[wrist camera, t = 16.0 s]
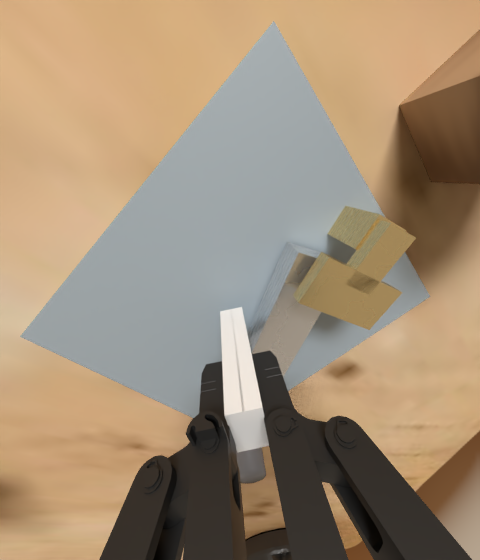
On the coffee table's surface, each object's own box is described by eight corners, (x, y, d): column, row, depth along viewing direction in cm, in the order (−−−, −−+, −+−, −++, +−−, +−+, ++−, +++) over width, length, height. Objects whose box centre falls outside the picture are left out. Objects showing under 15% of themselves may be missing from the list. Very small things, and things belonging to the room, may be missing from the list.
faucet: (256, 406, 19) (260, 430, 18) (209, 401, 18) (208, 425, 17) (339, 257, 13) (358, 270, 12) (276, 237, 12) (286, 248, 11)
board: (421, 291, 17) (543, 361, 10) (224, 424, 22) (227, 523, 16) (269, 33, 9) (378, -257, 3) (29, 328, 15) (-109, 443, 8)
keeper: (376, 226, 14) (442, 247, 10) (330, 290, 16) (369, 330, 12) (318, 192, 12) (366, 201, 8) (275, 266, 14) (298, 303, 10)
